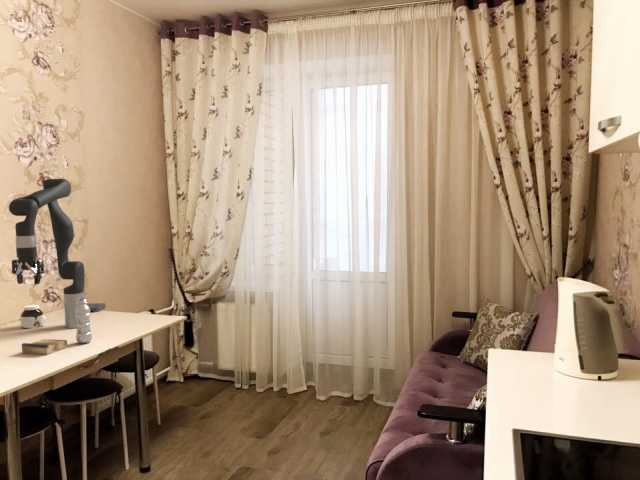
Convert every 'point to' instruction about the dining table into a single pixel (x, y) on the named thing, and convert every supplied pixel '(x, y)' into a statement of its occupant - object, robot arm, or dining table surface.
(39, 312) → the spread jar
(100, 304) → the streaming box
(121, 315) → the dining table surface
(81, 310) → the plastic bottle
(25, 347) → the dock
